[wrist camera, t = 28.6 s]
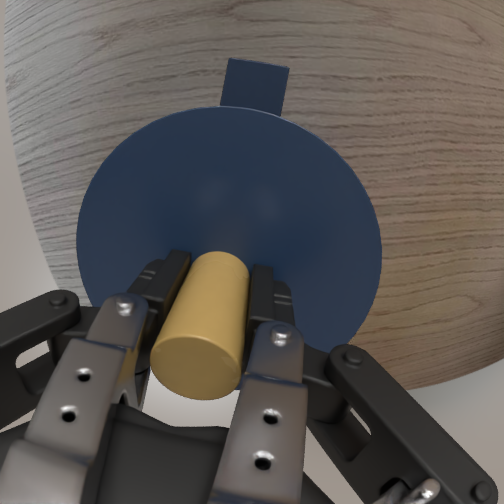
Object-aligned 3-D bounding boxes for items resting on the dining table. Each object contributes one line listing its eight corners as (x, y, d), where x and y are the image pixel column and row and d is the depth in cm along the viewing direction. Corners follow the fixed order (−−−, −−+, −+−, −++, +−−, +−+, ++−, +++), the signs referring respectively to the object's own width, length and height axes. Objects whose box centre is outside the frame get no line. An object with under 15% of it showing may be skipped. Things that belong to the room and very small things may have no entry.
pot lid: (99, 344, 15) (50, 425, 10) (96, 98, 10) (-14, 96, 5) (323, 386, 16) (338, 482, 10) (407, 149, 11) (511, 180, 5)
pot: (147, 308, 23) (111, 373, 16) (168, 74, 16) (115, 50, 9) (294, 334, 23) (302, 408, 16) (354, 105, 16) (405, 96, 10)
